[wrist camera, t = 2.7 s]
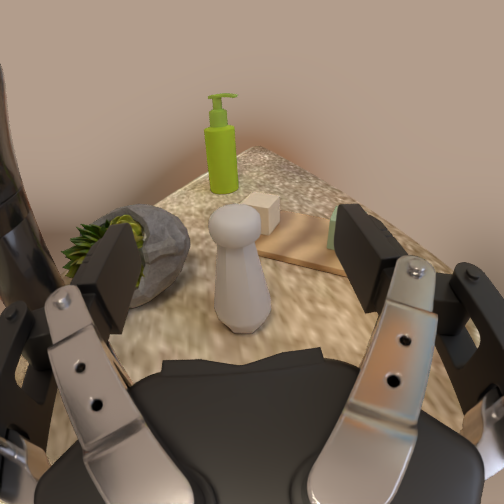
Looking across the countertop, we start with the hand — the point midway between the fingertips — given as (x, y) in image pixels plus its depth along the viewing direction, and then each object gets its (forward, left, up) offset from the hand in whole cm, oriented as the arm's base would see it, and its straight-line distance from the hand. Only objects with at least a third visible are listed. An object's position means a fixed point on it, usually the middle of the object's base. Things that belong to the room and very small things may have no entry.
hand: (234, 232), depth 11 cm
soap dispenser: (-25, +40, -18) cm, 50 cm away
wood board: (-5, +27, -18) cm, 32 cm away
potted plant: (-20, +8, -18) cm, 28 cm away
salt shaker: (-6, +10, -18) cm, 21 cm away
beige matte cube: (-11, +27, -17) cm, 33 cm away
